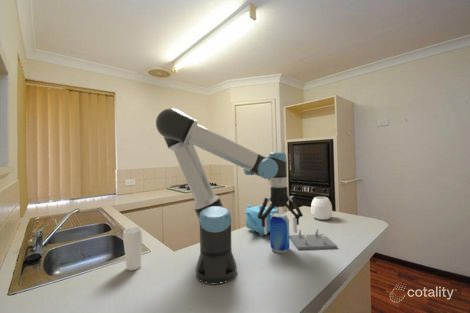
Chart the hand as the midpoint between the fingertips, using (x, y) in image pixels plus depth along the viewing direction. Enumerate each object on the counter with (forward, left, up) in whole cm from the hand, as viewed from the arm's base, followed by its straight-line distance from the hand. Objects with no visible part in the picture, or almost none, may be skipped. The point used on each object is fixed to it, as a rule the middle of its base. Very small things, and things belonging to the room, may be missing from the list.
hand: (280, 232), depth 99 cm
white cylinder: (-61, -11, -8) cm, 63 cm away
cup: (+38, +43, -8) cm, 58 cm away
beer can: (0, 0, -8) cm, 8 cm away
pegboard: (+17, +6, -8) cm, 19 cm away
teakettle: (-5, +24, -8) cm, 26 cm away
